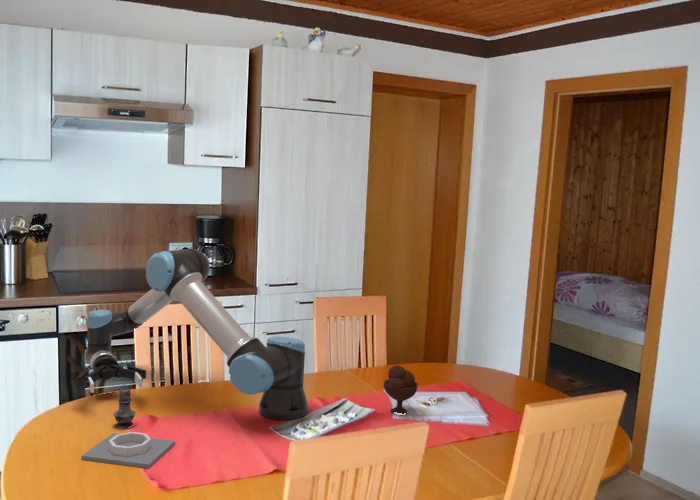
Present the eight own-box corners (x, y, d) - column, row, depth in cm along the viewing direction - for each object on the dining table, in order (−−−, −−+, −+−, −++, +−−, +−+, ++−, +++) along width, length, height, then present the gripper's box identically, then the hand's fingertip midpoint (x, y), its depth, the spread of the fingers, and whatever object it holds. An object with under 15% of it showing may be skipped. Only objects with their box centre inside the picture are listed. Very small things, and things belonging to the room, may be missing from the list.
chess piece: (128, 430, 184) (128, 389, 182) (109, 428, 185) (109, 386, 184) (139, 423, 190) (139, 382, 188) (120, 420, 191) (121, 380, 189)
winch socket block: (175, 444, 176) (175, 432, 176) (148, 468, 162) (148, 455, 161) (113, 436, 179) (113, 425, 179) (81, 459, 165) (81, 447, 164)
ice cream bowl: (393, 420, 201) (396, 373, 199) (375, 408, 211) (378, 362, 209) (423, 416, 206) (426, 369, 204) (404, 404, 215) (406, 359, 214)
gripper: (143, 372, 220) (159, 392, 202) (62, 380, 207) (71, 403, 189) (143, 350, 219) (160, 369, 201) (62, 357, 206) (71, 377, 188)
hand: (117, 385), depth 195 cm, fingers open, 13 cm apart
